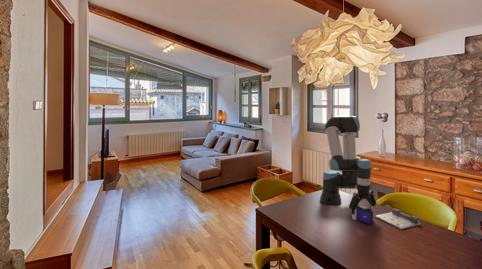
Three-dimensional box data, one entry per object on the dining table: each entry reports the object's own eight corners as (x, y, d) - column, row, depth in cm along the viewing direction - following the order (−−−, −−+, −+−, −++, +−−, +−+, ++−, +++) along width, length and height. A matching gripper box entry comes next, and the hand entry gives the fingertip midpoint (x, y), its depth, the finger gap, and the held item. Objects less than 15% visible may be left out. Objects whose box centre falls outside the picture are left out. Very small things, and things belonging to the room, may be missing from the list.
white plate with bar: (375, 217, 168) (375, 211, 168) (393, 212, 174) (394, 207, 173) (401, 229, 151) (401, 223, 151) (420, 224, 157) (421, 218, 157)
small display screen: (348, 215, 171) (348, 201, 170) (353, 214, 172) (354, 200, 171) (367, 226, 156) (367, 211, 155) (373, 225, 157) (373, 210, 156)
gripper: (352, 188, 153) (351, 223, 156) (383, 183, 162) (382, 216, 164) (343, 184, 160) (342, 218, 163) (373, 180, 169) (372, 211, 171)
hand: (362, 217), depth 163 cm, fingers open, 13 cm apart
